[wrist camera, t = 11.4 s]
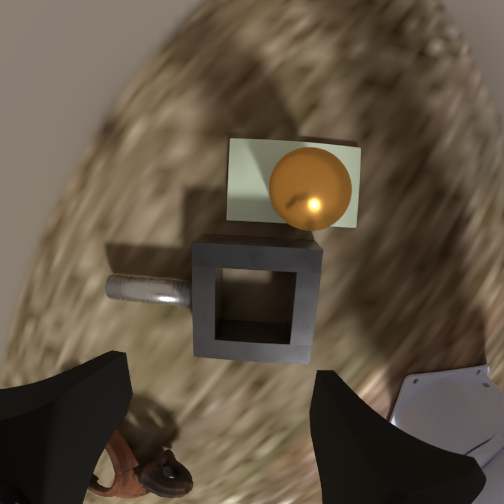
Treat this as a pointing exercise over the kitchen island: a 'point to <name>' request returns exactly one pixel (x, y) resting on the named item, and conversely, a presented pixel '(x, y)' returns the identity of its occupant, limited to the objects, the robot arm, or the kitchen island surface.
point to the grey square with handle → (210, 297)
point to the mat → (260, 169)
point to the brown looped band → (142, 474)
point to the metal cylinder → (310, 188)
